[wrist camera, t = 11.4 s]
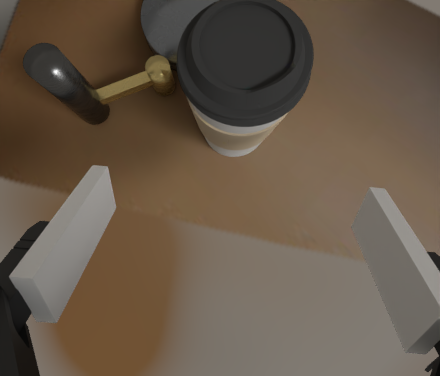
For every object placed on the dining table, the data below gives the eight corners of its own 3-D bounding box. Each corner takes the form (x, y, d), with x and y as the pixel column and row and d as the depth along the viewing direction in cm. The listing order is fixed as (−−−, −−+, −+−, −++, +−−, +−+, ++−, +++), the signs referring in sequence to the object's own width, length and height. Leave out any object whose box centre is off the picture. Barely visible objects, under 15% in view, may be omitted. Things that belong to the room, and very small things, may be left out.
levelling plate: (280, 12, 34) (284, -3, 32) (239, 98, 32) (240, 88, 30) (155, -40, 35) (150, -58, 33) (109, 41, 33) (101, 28, 31)
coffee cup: (178, 113, 32) (142, 14, 17) (247, 73, 33) (271, -55, 18) (220, 182, 31) (221, 140, 16) (291, 140, 32) (354, 62, 17)
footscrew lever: (169, 69, 33) (148, 2, 23) (179, 93, 32) (162, 34, 23) (79, 105, 32) (17, 51, 22) (88, 129, 32) (30, 85, 22)
